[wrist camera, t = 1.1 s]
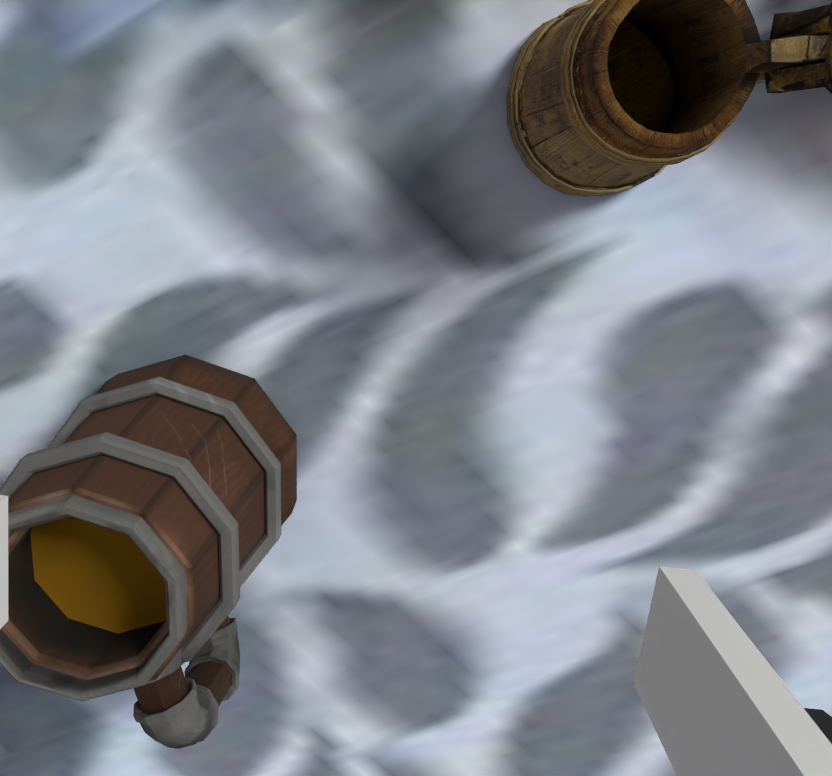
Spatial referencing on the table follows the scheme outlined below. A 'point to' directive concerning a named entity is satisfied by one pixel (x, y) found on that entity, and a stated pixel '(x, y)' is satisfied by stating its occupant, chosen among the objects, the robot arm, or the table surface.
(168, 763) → the table surface
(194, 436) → the mug
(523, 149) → the wooden mug
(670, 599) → the robot arm
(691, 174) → the table surface
